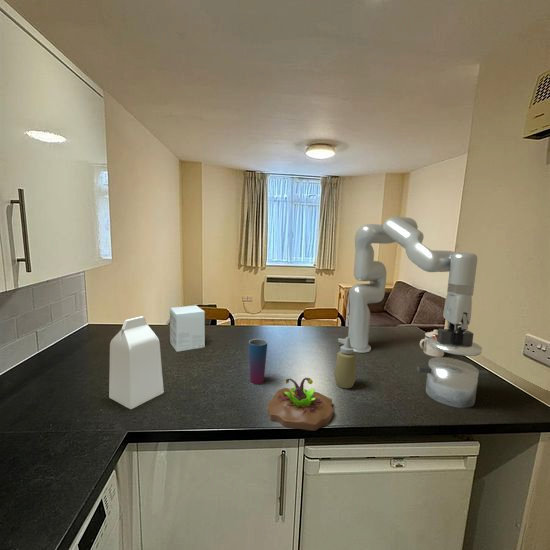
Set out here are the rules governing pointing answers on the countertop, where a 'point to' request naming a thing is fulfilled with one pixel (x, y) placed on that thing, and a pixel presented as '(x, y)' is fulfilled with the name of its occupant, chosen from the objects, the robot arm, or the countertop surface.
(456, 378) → the pot
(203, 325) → the supplement box
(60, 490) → the countertop surface
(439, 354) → the teacup with lid
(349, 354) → the squeeze bottle
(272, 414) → the plant
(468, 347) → the lid
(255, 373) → the cup
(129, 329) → the milk
